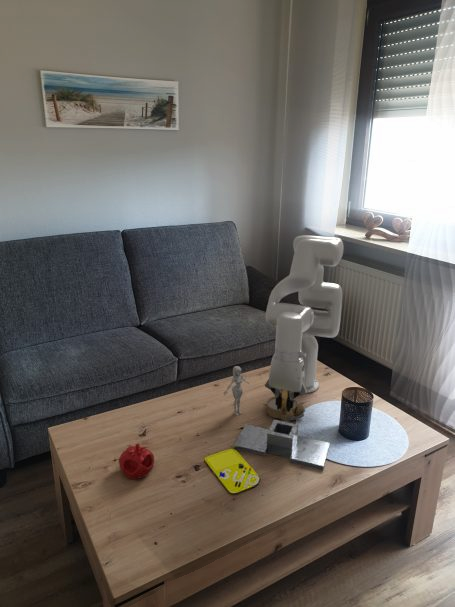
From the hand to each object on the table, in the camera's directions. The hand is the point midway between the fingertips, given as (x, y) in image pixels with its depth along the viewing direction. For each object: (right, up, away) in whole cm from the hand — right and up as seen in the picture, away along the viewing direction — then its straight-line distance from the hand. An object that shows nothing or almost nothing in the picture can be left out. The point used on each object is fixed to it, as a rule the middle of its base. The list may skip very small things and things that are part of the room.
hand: (284, 407), depth 147 cm
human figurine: (-14, -7, +24) cm, 29 cm away
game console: (-16, -18, -5) cm, 25 cm away
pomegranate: (-44, -17, -6) cm, 48 cm away
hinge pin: (0, -2, 0) cm, 2 cm away
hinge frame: (0, -14, +5) cm, 15 cm away
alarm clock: (+3, -8, +24) cm, 25 cm away
